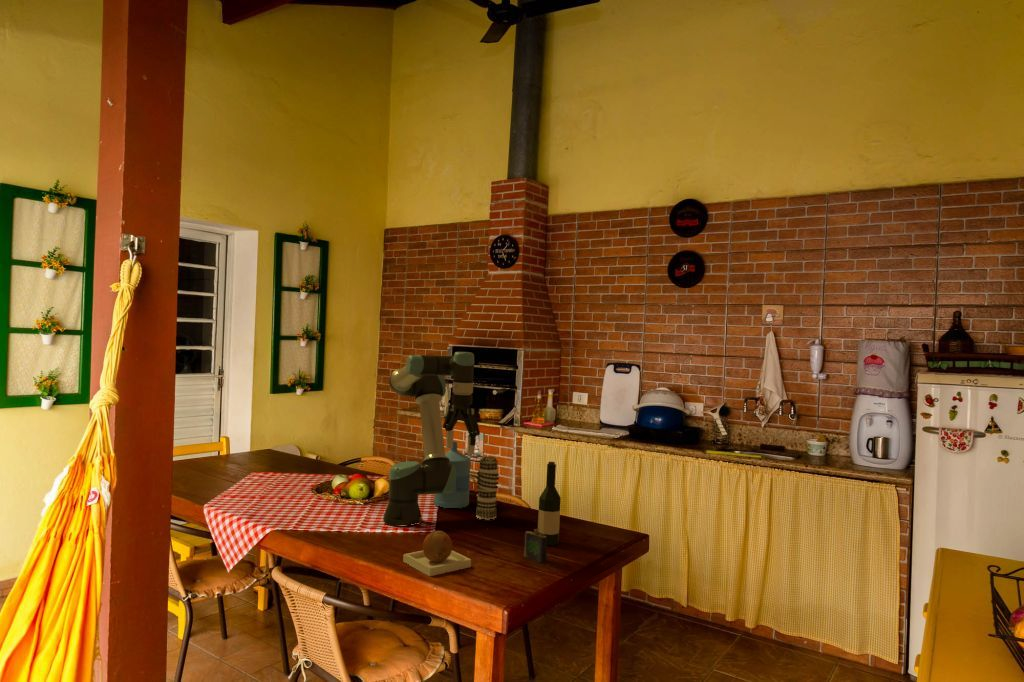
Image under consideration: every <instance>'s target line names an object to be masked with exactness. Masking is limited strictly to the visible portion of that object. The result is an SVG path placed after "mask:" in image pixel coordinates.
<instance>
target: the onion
mask: <svg viewBox="0 0 1024 682" xmlns="http://www.w3.org/2000/svg"><path fill="white" fill-rule="evenodd" d="M422 550H423V552H424V555H425V557H426V558H427V559H429V560H430V561H432V562H442V561H444V560H446V559H447V558H448V557H449V556H450V554H451V552H452V550H453V541H452V538H451V537H450V536H449V534H447V533H446V532H445V531H443V530H434V531H432V532H430V533H428V534H427V535H426V536H425V538H424V540H423V543H422Z"/></svg>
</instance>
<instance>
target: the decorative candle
mask: <svg viewBox="0 0 1024 682" xmlns="http://www.w3.org/2000/svg"><path fill="white" fill-rule="evenodd" d="M478 461H479V468H478V471H477V473H476V475H477V478H476V479H477V482H476V483H477V485H476V487H477V488H476V489H477V490H478V491H477V493H478V495H477V500H476V512H475V515H476V516H475V517H477V518H476V519H478V518H479V519H478V520H481V519H485V520H484V521H491V520H490V519H493V520H495V518H496V519H497V514H498V513H497V511H498V509H497V507H498V504H497V503H498V500H497V491H498V488H499V486H498V485H499V482H498V480H500V478H499V477H498V476H500V474H499V472H498V471H499V470H498V469H499V468H498V463H499V461H498V460H497V458H496V457H494V456H489V455H488V456H482V457H481V458H480V459H479V460H478Z"/></svg>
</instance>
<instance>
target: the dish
mask: <svg viewBox="0 0 1024 682" xmlns="http://www.w3.org/2000/svg"><path fill="white" fill-rule="evenodd" d="M402 558H403V559H402V560H403V561H402V562H403V563H405V564H406V563H407V564H406V565H408V564H409V566H410V567H412V568H414V569H416V570H417V571H419V572H421V573H422V574H424V575H427V576H428V577H432V576H433V577H434V576H437V575H441V574H446V572H447V573H450V572H455V571H459V569H460V570H463V569H467V568H472V559H471V558H469V557H467V556H465V555H463V554H460V553H459V552H457V551H455V550H453V549H452V552H451V554H450V556H449V557H448V558H447V559H446V560H444V561H442V562H432V561H430V560H429V559H427V558H426V557H425V555H424V552H423V549H422V550H418V551H413V552H409V553H404V554H403V557H402Z"/></svg>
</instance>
